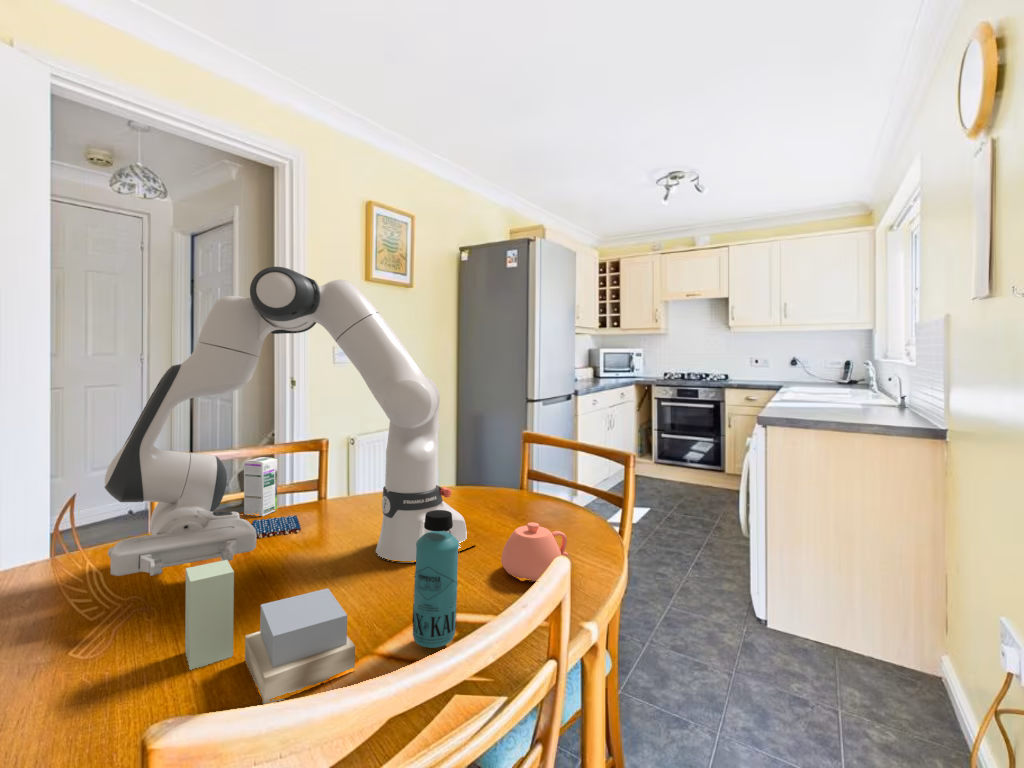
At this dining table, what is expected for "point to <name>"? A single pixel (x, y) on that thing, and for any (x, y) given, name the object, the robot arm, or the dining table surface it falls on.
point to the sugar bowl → (531, 551)
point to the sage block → (209, 613)
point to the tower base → (294, 668)
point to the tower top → (302, 626)
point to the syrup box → (260, 486)
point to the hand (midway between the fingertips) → (193, 563)
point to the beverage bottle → (435, 582)
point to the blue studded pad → (276, 526)
